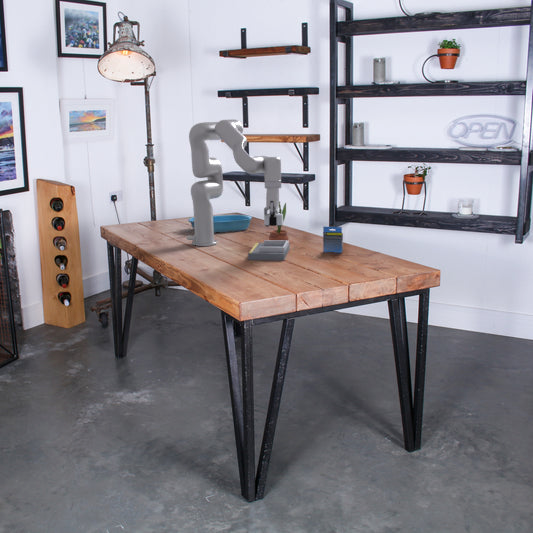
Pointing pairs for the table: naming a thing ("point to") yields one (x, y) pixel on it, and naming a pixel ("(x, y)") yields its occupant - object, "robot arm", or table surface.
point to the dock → (269, 250)
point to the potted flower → (279, 228)
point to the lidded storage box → (278, 219)
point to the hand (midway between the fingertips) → (273, 224)
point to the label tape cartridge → (332, 239)
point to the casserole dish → (228, 223)
